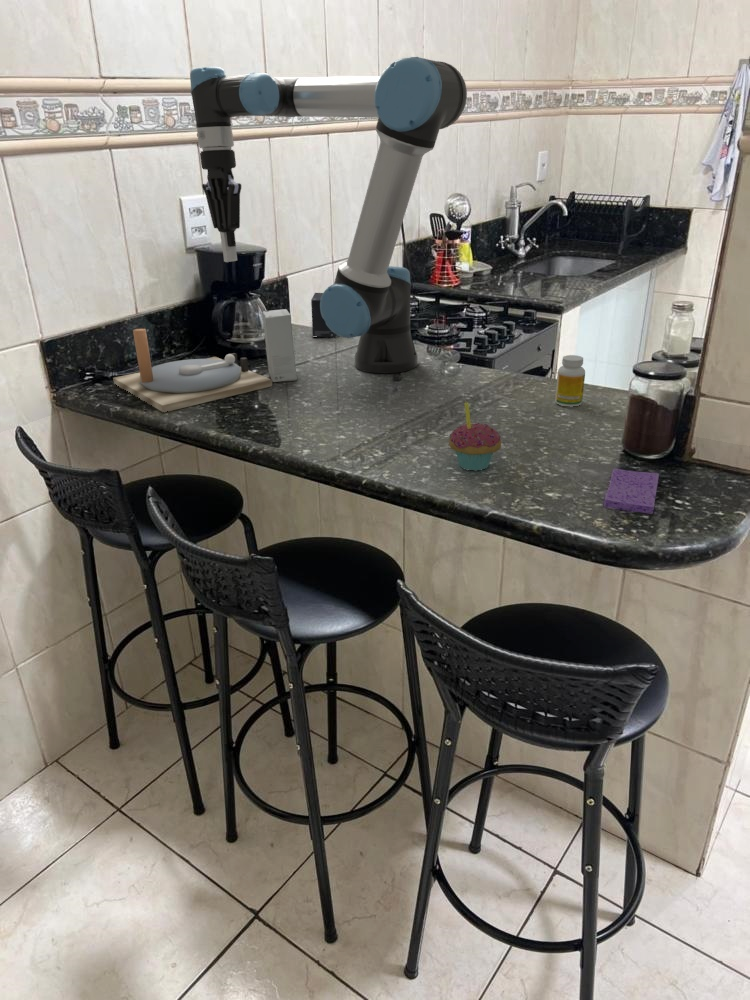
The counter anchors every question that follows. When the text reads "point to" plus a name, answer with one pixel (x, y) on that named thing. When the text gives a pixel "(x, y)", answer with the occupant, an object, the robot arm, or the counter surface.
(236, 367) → the cam disc
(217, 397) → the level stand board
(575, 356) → the supplement bottle
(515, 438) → the counter surface
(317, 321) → the small box
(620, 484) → the sponges
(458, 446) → the cupcake
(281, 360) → the skincare box
